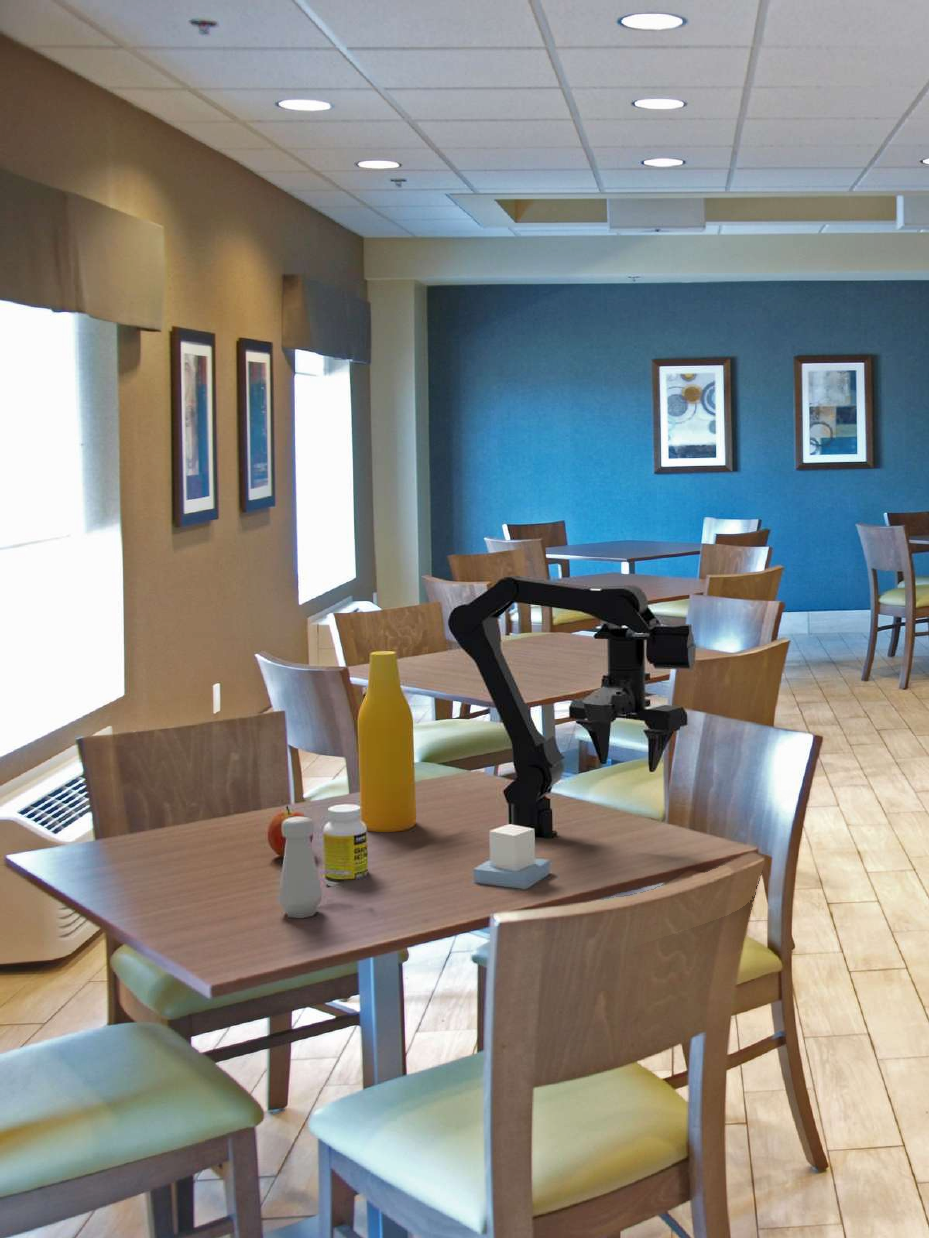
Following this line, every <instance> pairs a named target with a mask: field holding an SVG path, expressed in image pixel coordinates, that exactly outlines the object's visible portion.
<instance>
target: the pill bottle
mask: <svg viewBox="0 0 929 1238" xmlns="http://www.w3.org/2000/svg"><path fill="white" fill-rule="evenodd" d="M327 814H328V815H327V816H328V819H329V822H327V823H326V824H325V825H324V828H323V853H324V856H323V857H324V879H325V884H326V885H327V886H328V887H334V886H336V885H338V884H341V883H344V882H346V881H351V880H352V881H353V880H359V879H362V878H364V877H366V876H367V875H369V861H368V858H369V857H368V830H367V828H366V825H365V824H364V823H363V822H362V821H361V805H358V804H347V803H346V804H344V803H343V804H337V805H332V806H330V807H328V809H327Z"/></svg>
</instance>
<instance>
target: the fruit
mask: <svg viewBox="0 0 929 1238" xmlns="http://www.w3.org/2000/svg"><path fill="white" fill-rule="evenodd" d="M285 808H286V811H287V812H281V813H278V814H277V815H275V816H274V817H273V818H272V819H271V821H270V823H269V825H268V827H267V841H268V845H269V847H270V848H271V849H272V851H273V852H275V854H277V856H280V857H282V858H284V853H285V845H286V838H285V837H283V835H282V830H281V828H282V822H283V821H284V820H285V819H287V818H291V817H307V816H306V815H305V814H303V813H300V812H297V811H294V812H293V811H290V809H289V806H288V805H286V806H285ZM313 838H314V834H313V835H311V836H310V841H311V844H312V842H313V840H314V839H313Z"/></svg>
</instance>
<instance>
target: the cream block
mask: <svg viewBox="0 0 929 1238" xmlns="http://www.w3.org/2000/svg"><path fill="white" fill-rule="evenodd" d="M488 835H489V837H488V839H489V860H490V866H493V867H498V868H502V869H507V870H511V871H517V870H520V869H522V868H525V867H528V866H530V865H533V864H535V858H536V843H535V842H536V840H535V839H536V837H535V831H534V829H533V828H527V827H522V826H517V825H512V824H509V823H508V824H505V825H502V826H500V827H497V828H494V829H491V830H488Z"/></svg>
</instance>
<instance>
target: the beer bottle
mask: <svg viewBox="0 0 929 1238" xmlns="http://www.w3.org/2000/svg"><path fill="white" fill-rule="evenodd" d="M398 665H399V664H398V659H397V653H396V651H390V650H380V651H379V650H378V651H373V652H370V655H369V667H368V682H367V690H366V693H365V696H364V699H363V700H362V703H361V706H360V708H359V711H358V717H357V740H358V741H357V743H358V745H357V746H358V767H359V770H358V771H359V795H360V796H359V797H360V801H359V802H360V807H361V817H360V821H362V822H363V823H364V824H365V825H366V828H367V831H370V832H373V833H374V832H377V833H395V832H401V831H405V830H409V829H411V828H413V827H414V826H415V825H416V821H417V803H416V778H415V775H416V773H415V743H414V741H415V739H414V719H413V718H414V717H413V714H412V713H413V712H412V710H411V707H410V704H409V702H408V700H407V698H406V697H405V694H404V692H403V690H402V687H401V680H400V679H401V678H400V672H399V666H398Z"/></svg>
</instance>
